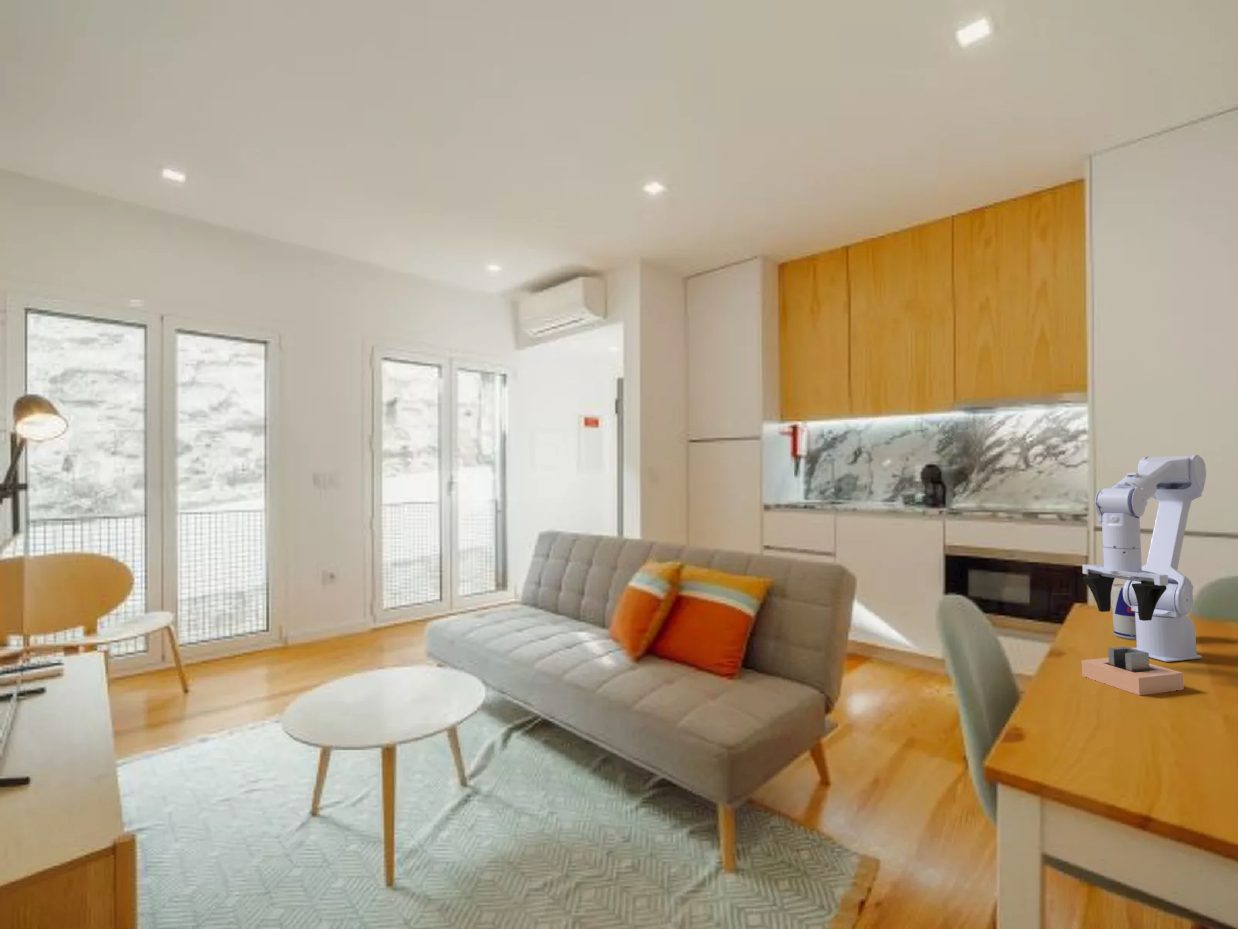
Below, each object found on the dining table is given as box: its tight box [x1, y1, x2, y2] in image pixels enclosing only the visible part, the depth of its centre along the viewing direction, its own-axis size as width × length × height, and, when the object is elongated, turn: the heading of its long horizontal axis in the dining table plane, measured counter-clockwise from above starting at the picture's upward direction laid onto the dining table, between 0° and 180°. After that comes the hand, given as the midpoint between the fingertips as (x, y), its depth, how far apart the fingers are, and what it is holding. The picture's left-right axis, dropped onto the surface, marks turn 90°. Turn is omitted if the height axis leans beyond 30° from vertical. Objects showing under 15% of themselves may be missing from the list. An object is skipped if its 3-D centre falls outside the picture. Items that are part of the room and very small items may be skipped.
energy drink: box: [1111, 583, 1136, 641], centre depth 133 cm, size 5×5×12 cm
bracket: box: [1107, 646, 1150, 673], centre depth 104 cm, size 4×4×6 cm
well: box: [1081, 657, 1185, 696], centre depth 104 cm, size 10×10×3 cm
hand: (1124, 615), depth 112 cm, fingers open, 7 cm apart
